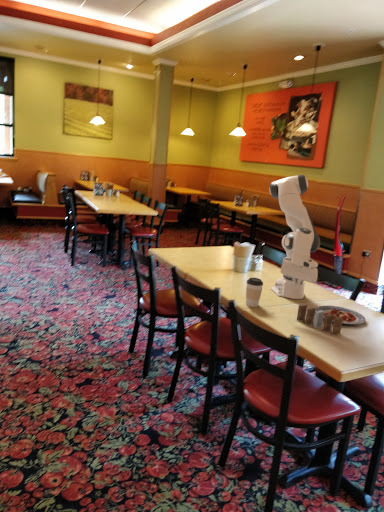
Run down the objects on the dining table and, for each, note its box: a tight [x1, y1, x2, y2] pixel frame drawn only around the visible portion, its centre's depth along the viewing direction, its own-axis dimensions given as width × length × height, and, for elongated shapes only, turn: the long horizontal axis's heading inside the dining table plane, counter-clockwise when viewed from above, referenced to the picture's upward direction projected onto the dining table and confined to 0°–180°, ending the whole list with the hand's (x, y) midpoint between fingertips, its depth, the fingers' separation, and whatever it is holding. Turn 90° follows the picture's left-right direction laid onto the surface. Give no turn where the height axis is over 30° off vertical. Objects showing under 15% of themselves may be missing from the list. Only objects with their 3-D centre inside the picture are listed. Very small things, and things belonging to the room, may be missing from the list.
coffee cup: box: [245, 277, 264, 308], centre depth 228 cm, size 9×9×15 cm
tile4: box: [322, 314, 333, 333], centre depth 203 cm, size 2×5×8 cm, turn 131°
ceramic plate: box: [315, 305, 366, 325], centre depth 223 cm, size 26×26×3 cm
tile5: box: [331, 317, 343, 336], centre depth 199 cm, size 2×5×8 cm, turn 131°
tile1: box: [296, 303, 308, 322], centre depth 214 cm, size 2×5×8 cm, turn 131°
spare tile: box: [312, 310, 324, 329], centre depth 207 cm, size 2×5×8 cm, turn 131°
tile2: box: [304, 306, 317, 325], centre depth 210 cm, size 2×5×8 cm, turn 131°
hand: (296, 286), depth 215 cm, fingers closed
